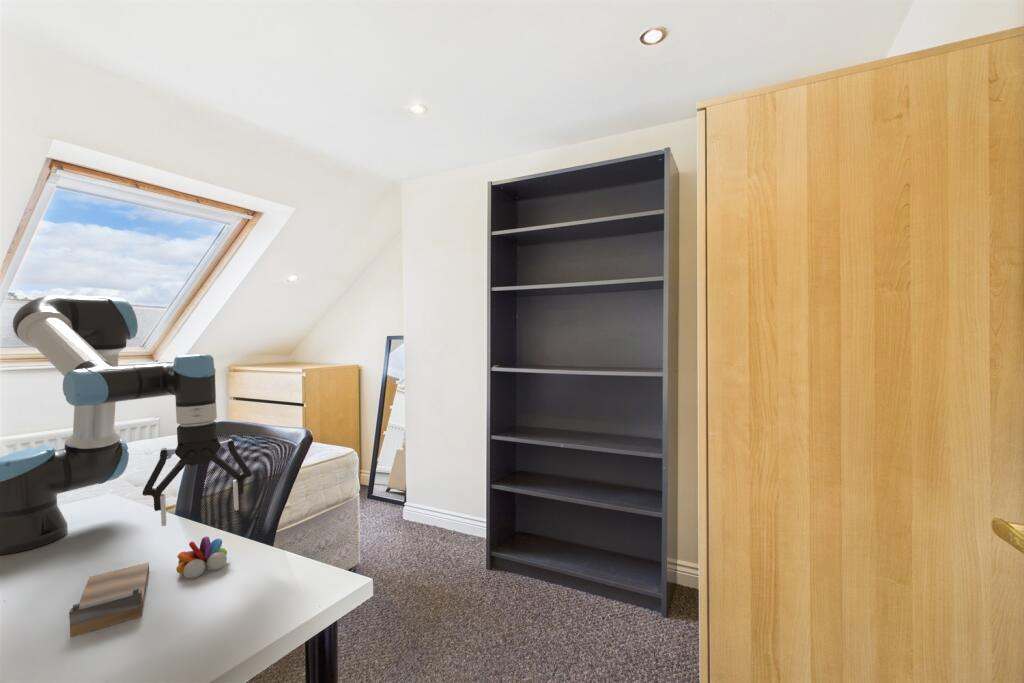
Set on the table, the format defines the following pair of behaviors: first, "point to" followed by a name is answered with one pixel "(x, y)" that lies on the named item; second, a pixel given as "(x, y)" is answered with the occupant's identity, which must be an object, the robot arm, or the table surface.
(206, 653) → the table surface
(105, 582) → the wooden display stand
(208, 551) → the rainbow wooden ball puzzle
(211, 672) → the table surface
